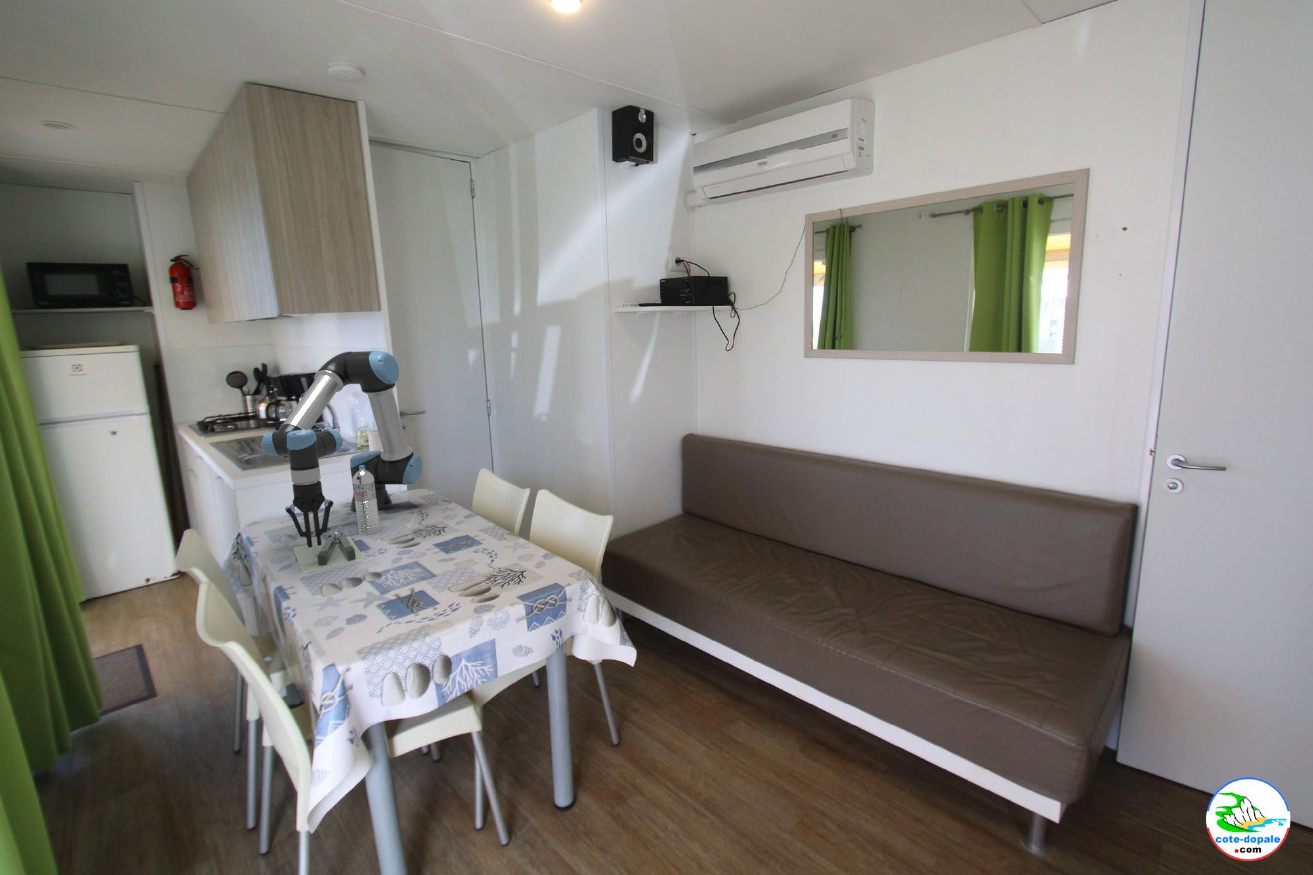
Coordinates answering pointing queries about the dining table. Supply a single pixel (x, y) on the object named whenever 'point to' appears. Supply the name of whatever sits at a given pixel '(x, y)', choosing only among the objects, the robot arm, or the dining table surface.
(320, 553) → the bar
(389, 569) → the dining table surface
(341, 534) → the tongs fixed
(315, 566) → the board
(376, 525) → the water bottle
